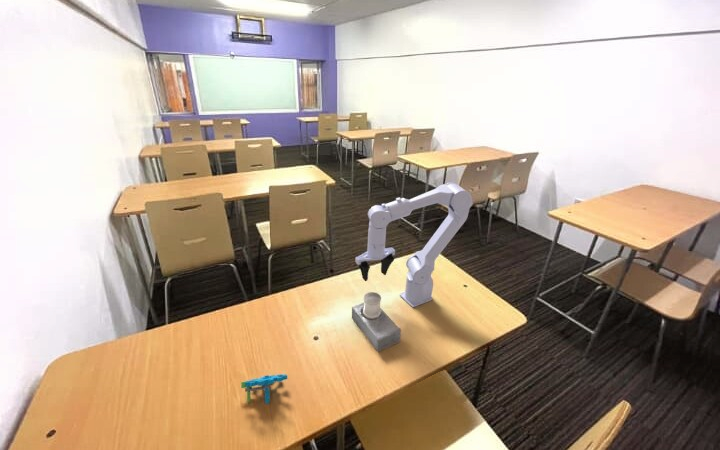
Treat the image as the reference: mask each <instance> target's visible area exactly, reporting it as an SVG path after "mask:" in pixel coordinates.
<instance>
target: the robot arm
mask: <svg viewBox="0 0 720 450" xmlns="http://www.w3.org/2000/svg"><path fill="white" fill-rule="evenodd" d="M472 197H473V196H472V195H471V193H470V192H469V191H468V190H465V189H464V188H462V187H461V186H460V185H459V184H458V183H457V182H454V181H451V182H450V181H449V182H447V183H443V184H440V185H439V186H437V187H435V188H434V189H432V190H429V191H427V192H424V193H421V194H419V195H417V196H415V197H412V198H410V199H408V198H404V197H396V198H395V200H393V201H391V202H388V203H387V202H386V203H381V205H380V204H375V205H373V206H371V208H369V210H368V212H367V217H368V219H369V223H368V231H367V232H368V233H367V249H366V251H365V252H363V253H361V254H360V255H358V256H355V259H354V260H355V263H356V265H358V268H359V270H360V273H361V276H362V279H363V280H364V281H365V282H367V281H368V279H369V271H370V268H371V266H370V265H369V264H368V262H373V261H381V264H380V273H381V274H382V275H383V276H386V275H387V273H388V271H389V268H390V266H391V265H392V263H393V262H394V261H395V257H394V256H395V254H396V249H394V248H393V247H387V248H386V238H387V226H388V225H390V224H389V223H392V222H393V221H396V220H399V219H402V218H404V217H405V218H406V217H408V216H410V215H411V213H412V211H415V210H419V209H421V208H423V207H424V208H425V207H427V206H431V205H435V204H439V205H442V206H445V207H446V208H447V211H448V215H447V216H446V217H445V219H444V220H443V221H442V222H441V224H440V225H439V227H438V228H437V229H436V231H435V232H434V233H433V235H432V236H431V238H429V240H428V241H427V243H426V244H425V246H424V247H423V248H422V249H421V250H418V251H417V250H416V251H415V252H414V254H413V255H411V256H410V257H408V259H407V260H406V262H405V265H406V267H407V270H408V272H407V274H406V281H405V289H404V292H401V293H399V296H400V297H401V298H402V299H403V300H404V301H405V302H406V303H408V305H409V306H411V307H412V308H417V307H418V306H420V305H422V304H425V303H429V302H430V301H432V300H433V299H434V298H433V297H432V296H433V288H434V279H433V278H432V273H433V272H434V271H435V262H436V259H438V257H439V256H440V255H441V253H442V252H443V250H444V249H445V248H446V247H447V245H448V244H449V243H450V241H451V240H452V239H453V238H454V237H455V235H456V233H457V232H458V231H459V230H460V228H461V227H462V226H463V225H464V223H465V222H466V221H467V220H468V218H469V217H468V216H469V212H470V208H471V207H472V206H473V205H474V202H473V198H472Z"/></svg>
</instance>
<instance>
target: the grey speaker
mask: <svg viewBox="0 0 720 450" xmlns="http://www.w3.org/2000/svg"><path fill="white" fill-rule="evenodd" d="M363 308H364V302H361V303H359V304H356V305H354V306H351V319H352V320H353V321H354V323H355V324H356V325H357V326H358V328H359V329H360V330H361V331H362V332H363V334H364V335H365V337H366V338H367V339H368V341H369V343H371V345H372V347H374V348H375V350H376V351H377V352H380V351H382V350H384V349H387V348H389V347H391V346H393V345H395V344H399V343H401V335H402V329H401V328H400V327H399V326H398V325H397V324H396V323H395V321H393V320H392V318H391V317H389V316H388V314H387V313H386V312H385V310H383V309H382V308H381V307H380V309H381V314H380V316H379V317H378V318H375V319H369V318H367V317H365V316H364V315H363Z"/></svg>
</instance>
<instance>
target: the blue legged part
mask: <svg viewBox="0 0 720 450" xmlns="http://www.w3.org/2000/svg"><path fill="white" fill-rule="evenodd" d="M287 379H288V375H287V374H276V375H275V374H273V375H268V374H267V375H264V376H260V377H259V378H253V379H250V380H245V381H241V382H240V388H241V389H244V392H246V400H247V401H246V402H247V403H250V402H251V392H255V391H260V390H264V403H265V404H268V403H270V402H271V401H270V389H271V384H275V382H278V383H279V382H283V381H285V380H287ZM255 386H257V387H255Z"/></svg>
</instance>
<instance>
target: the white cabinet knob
mask: <svg viewBox="0 0 720 450" xmlns="http://www.w3.org/2000/svg"><path fill="white" fill-rule="evenodd" d="M381 302H382V297H381V295H380V294H379V293H378V292H376V291H375V292H373V291H369V292H367V293H365V294H364V295H363V303H364V308H363V315H364V316H365V317H367V318H369V319H375V318H378V317H379V316H380V314H381V309H382V308H381ZM380 308H381V309H380Z"/></svg>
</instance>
